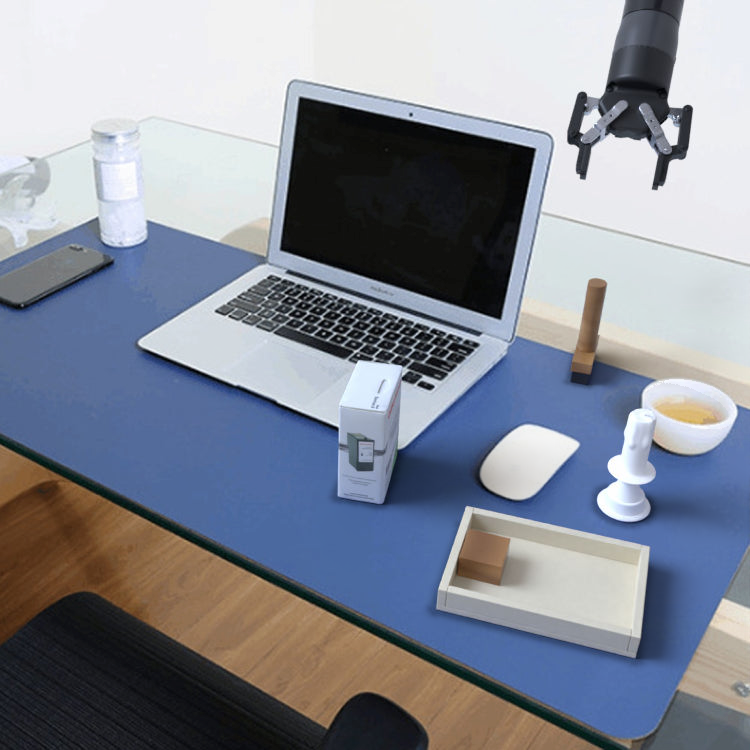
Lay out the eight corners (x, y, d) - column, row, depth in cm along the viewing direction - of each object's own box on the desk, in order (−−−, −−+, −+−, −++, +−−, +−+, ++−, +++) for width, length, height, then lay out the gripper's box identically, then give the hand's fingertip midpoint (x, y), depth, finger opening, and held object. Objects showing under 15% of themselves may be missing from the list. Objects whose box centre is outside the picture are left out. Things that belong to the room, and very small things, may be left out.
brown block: (508, 556, 95) (510, 538, 93) (499, 586, 92) (502, 567, 90) (466, 546, 96) (468, 528, 94) (456, 575, 92) (458, 556, 91)
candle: (661, 513, 101) (685, 418, 95) (619, 528, 99) (641, 433, 92) (627, 482, 105) (648, 388, 98) (586, 496, 103) (605, 402, 96)
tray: (645, 566, 95) (650, 546, 94) (635, 658, 86) (640, 638, 84) (464, 525, 99) (466, 505, 98) (436, 609, 90) (438, 589, 88)
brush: (595, 355, 126) (611, 270, 119) (588, 386, 120) (604, 298, 113) (576, 351, 126) (591, 266, 119) (568, 382, 120) (583, 295, 114)
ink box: (354, 446, 109) (357, 355, 102) (399, 454, 108) (404, 362, 101) (335, 498, 102) (337, 404, 95) (383, 506, 101) (388, 411, 94)
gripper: (585, 36, 120) (559, 161, 117) (707, 49, 117) (683, 178, 114) (583, 67, 127) (559, 186, 125) (699, 81, 124) (676, 203, 121)
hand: (618, 182), depth 119 cm, fingers open, 8 cm apart
